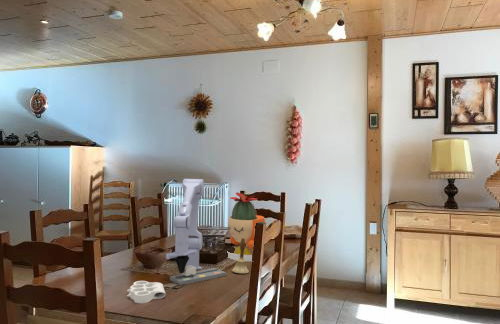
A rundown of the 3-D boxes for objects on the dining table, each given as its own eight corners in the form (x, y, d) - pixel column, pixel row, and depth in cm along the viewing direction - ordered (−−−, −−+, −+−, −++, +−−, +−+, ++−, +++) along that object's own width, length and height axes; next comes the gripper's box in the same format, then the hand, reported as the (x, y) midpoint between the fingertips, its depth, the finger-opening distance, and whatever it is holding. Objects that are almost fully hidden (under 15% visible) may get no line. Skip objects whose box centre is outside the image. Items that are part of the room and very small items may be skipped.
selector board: (170, 279, 183) (170, 275, 183) (215, 271, 198) (215, 266, 198) (179, 285, 176) (179, 280, 176) (225, 275, 191) (225, 271, 191)
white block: (181, 273, 185) (181, 267, 185) (190, 271, 188) (191, 265, 188) (188, 277, 180) (188, 270, 180) (198, 275, 183) (198, 268, 183)
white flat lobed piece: (166, 301, 158) (126, 305, 153) (161, 287, 175) (126, 289, 170) (166, 293, 157) (126, 296, 153) (162, 279, 175) (126, 281, 170)
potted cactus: (243, 263, 213) (244, 196, 212) (218, 254, 230) (219, 192, 229) (273, 257, 227) (275, 194, 226) (248, 249, 244) (249, 190, 243)
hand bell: (251, 271, 200) (254, 238, 200) (244, 274, 192) (246, 240, 192) (236, 268, 203) (238, 236, 203) (228, 271, 196) (231, 238, 196)
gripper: (171, 246, 175) (170, 277, 175) (200, 242, 184) (200, 272, 184) (163, 243, 180) (163, 273, 181) (192, 239, 189) (192, 268, 190)
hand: (181, 272), depth 183 cm, fingers closed
